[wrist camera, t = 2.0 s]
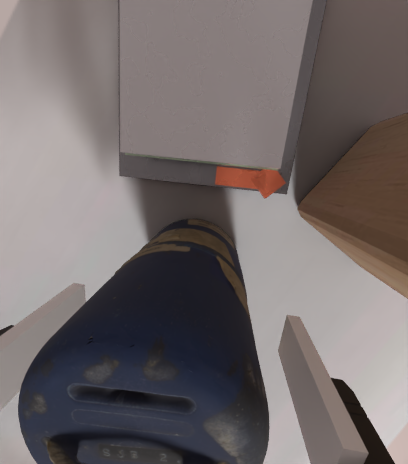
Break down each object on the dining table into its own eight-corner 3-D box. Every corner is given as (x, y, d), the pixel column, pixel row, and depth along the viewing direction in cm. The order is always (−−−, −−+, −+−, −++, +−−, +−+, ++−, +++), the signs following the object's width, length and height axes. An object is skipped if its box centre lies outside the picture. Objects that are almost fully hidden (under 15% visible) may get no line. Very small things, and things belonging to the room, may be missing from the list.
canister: (165, 203, 22) (-46, 313, 5) (252, 232, 22) (357, 446, 5) (144, 281, 25) (-40, 535, 7) (221, 307, 25) (219, 619, 7)
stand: (124, 181, 22) (96, 183, 17) (124, -28, 17) (85, -106, 12) (282, 198, 21) (300, 206, 16) (326, -17, 16) (368, -95, 12)
